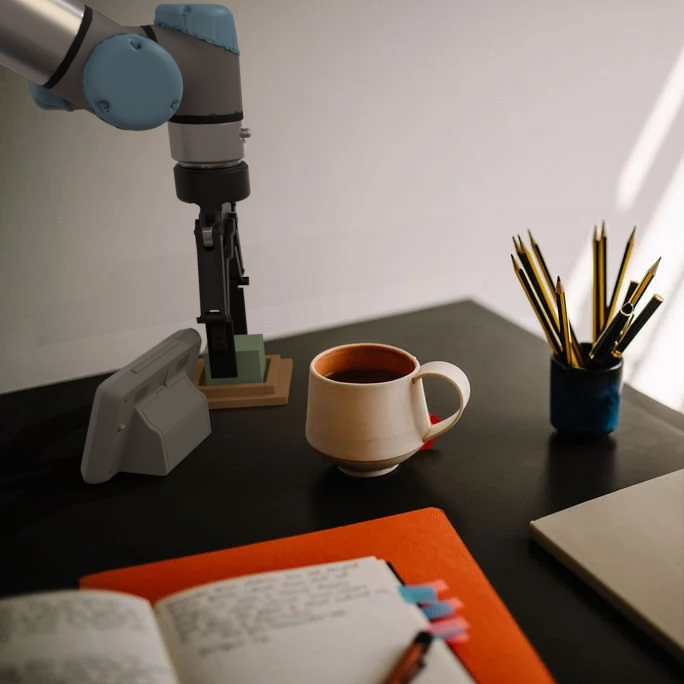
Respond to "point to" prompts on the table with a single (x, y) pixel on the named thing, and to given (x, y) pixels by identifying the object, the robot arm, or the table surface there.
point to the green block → (243, 361)
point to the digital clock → (148, 413)
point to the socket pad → (249, 387)
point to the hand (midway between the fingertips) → (230, 358)
